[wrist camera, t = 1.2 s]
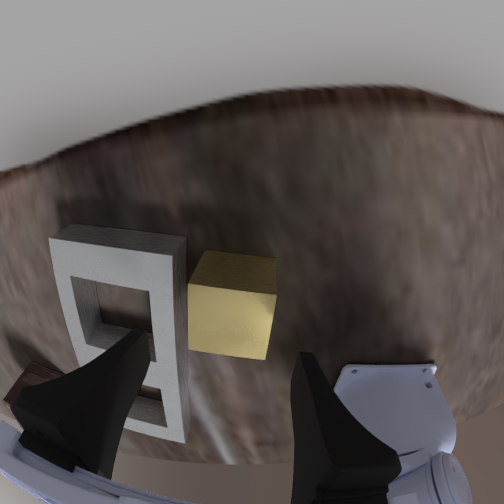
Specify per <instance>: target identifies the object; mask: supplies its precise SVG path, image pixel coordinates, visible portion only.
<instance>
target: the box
mask: <svg viewBox="0 0 504 504" xmlns="http://www.w3.org/2000/svg"><path fill="white" fill-rule="evenodd" d="M61 376H63V374H61V373H58V372H56V371H53V370H50V369H48V368H45V367H43V366H40V365H38V364H36V363H33V362H31V363H30V364H29V365H28V367H27V368H26V369H25V370H24V372H23V373H22V374H21V376H20V377H19V378H18V380H17V381H16V382H15V384H14V385H13V386H12V388H11V389H10V391H9V392H8V393H7V395H6V396H5V398H4V399H3V400H2V401H3V402H4V404H5V405H6V407H7V408H8V409H9V411H10V412H11V409H10V404H11V403H12V401H13V400H14V398H15V397H16V396H17V394H18V393H19V391H20V390H21V389H22V387H28V386H32V385H36V384H40V383H44V382H47V381H50V380H53V379H56V378H58V377H61ZM11 414H12V415H13V413H12V412H11ZM13 416H14V415H13ZM14 418H15V416H14ZM15 419H16V418H15ZM16 421H17V419H16ZM17 422H18V421H17ZM18 423H19V422H18ZM19 425H20V423H19ZM20 426H21V425H20ZM21 427H22V426H21ZM22 429H23V427H22ZM23 430H24V429H23Z"/></svg>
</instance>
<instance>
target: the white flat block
mask: <svg viewBox="0 0 504 504" xmlns="http://www.w3.org/2000/svg"><path fill="white" fill-rule="evenodd" d="M49 245H50V251H51V257H52V263H53V268H54V273H55V278H56V283H57V288H58V292H59V296H60V301H61V305H62V309H63V313H64V316H65V320H66V324H67V327H68V331H69V334H70V337H71V341H72V344H73V347H74V350H75V353H76V356H77V359H78V362H79V365H80V367H82V366H83V365H85V364H87V363H89V362H90V361H92V360H93V359H95V358H96V357H98V356H99V355H101V354H102V353H103V352H105V351H106V350H107V349H109V348H110V347H111V346H113V345H114V344H115V343H117V342H118V341H119V340H120V339H122V338H123V337H124V336H125V335H127V334H128V333H129V332H130V331H132V330H133V329H128V328H124V327H119V326H115V325H111V324H107V323H103V322H102V318H101V313H100V307H99V302H98V296H97V291H96V284H95V281H98V282H103V283H109V284H114V285H119V286H124V287H130V288H135V289H141V290H146V291H149V294H150V306H151V317H152V327H153V334H151V333H147V336H148V343H149V351H150V357H151V362H150V365H149V368H148V371H147V374H146V377H145V379H144V381H143V385H147V386H151V387H155V388H159V389H161V394H162V400H163V402H162V401H158V400H154V399H150V398H146V397H142V396H138V395H137V396H136V398H135V400H134V402H133V405H132V407H131V409H130V411H129V413H128V416H127V418H126V421H125V424H124V427H123V428H126V429H130V430H133V431H136V432H140V433H144V434H147V435H151V436H155V437H159V438H163V439H167V440H172V441H176V442H181V443H185V442H186V438H187V434H188V431H189V427H190V423H191V413H190V398H189V381H188V360H187V328H186V249H187V237H185V236H177V235H168V234H160V233H152V232H143V231H135V230H126V229H118V228H109V227H100V226H91V225H83V224H74V223H73V224H71V225H69V226H68V227H66V228H64V229H62V230H61V231H59V232H57V233H56V234H54V235H53V236H51V237H49Z"/></svg>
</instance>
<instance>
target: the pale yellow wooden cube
mask: <svg viewBox="0 0 504 504" xmlns="http://www.w3.org/2000/svg"><path fill="white" fill-rule="evenodd" d="M276 298H277V271H276V258H268V257H259V256H251V255H243V254H235V253H227V252H219V251H211V250H205V252H204V254H203V256H202V257H201V259H200V261H199V263H198V265H197V267H196V269H195V271H194V273H193V275H192V277H191V279H190V281H189V282H188V339H189V349H190V350H196V351H202V352H209V353H215V354H222V355H229V356H236V357H244V358H252V359H261V360H265V358H266V353H267V348H268V342H269V337H270V332H271V326H272V321H273V315H274V309H275V304H276Z"/></svg>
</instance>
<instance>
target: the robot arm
mask: <svg viewBox="0 0 504 504" xmlns="http://www.w3.org/2000/svg"><path fill="white" fill-rule="evenodd" d="M150 362H151V357H150V351H149V343H148V336H147V330H144V329H139V328H134V329H133V330H132V331H130V332H129V333H128V334H127V335H125V336H124V337H123V338H122V339H120V340H119V341H118V342H117V343H115V344H114V345H113V346H111V347H110V348H109V349H107V350H106V351H105V352H103V353H102V354H101V355H99V356H98V357H96V358H95V359H93V360H92V361H90V362H89V363H87V364H85V365H83V366H82V367H80V368H78V369H76V370H74V371H72V372H70V373H68V374H65V375H63V376H61V377H58V378H56V379H53V380H50V381H47V382H44V383H40V384H36V385H32V386H28V387H22V389H21V390H20V391H19V393H18V394H17V396H16V397H15V398H14V400H13V401H12V403H11V404H10V409H11V412H12V413H13V415H14V416H15V418H16V419H17V421H18V422H19V423H20V425H21V426H22V427H23V429H24V431H23V433H22V434H21V433H20V432H19V431H18V430H17V429H15V428H13V427H12V426H10V425H9V424H7V423H6V422H4V421H1V422H0V473H2V474H3V475H4V476H5V477H6V478H7V479H9V480H10V481H12V482H13V483H15V484H16V485H17V486H19V487H20V488H22V489H23V490H25V491H27V492H28V493H30V494H31V495H33V496H35V497H36V498H38V499H39V500H41V501H43V502H44V503H46V504H199V503H193V502H188V501H183V500H178V499H173V498H169V497H165V496H161V495H157V494H154V493H150V492H146V491H143V490H139V489H136V488H133V487H129V486H127V485H124V484H121V483H117V482H115V481H112V480H111V478H112V472H113V466H114V461H115V457H116V453H117V448H118V445H119V441H120V437H121V434H122V431H123V427H124V424H125V421H126V418H127V416H128V413H129V411H130V409H131V407H132V405H133V402H134V400H135V398H136V396H137V394H138V392H139V390H140V388H141V386H142V384H143V381H144V379H145V377H146V374H147V371H148V368H149V365H150ZM436 369H437V367H436V365H435V364H417V365H353V364H349V365H345V366H344V367H343V368H342V371H341V373H340V376H339V378H338V380H337V382H336V385H335V387H334V389H332V387H331V385H330V384H329V382H328V380H327V379H326V377H325V375H324V374H323V372H322V370H321V368H320V366H319V364H318V362H317V360H316V358H315V356H314V354H313V353H308V352H299V355H298V358H297V362H296V365H295V369H294V372H293V376H292V379H291V399H290V400H291V410H292V420H293V430H294V445H295V447H294V474H293V488H292V498H291V504H473V503H472V496H471V492H470V488H469V485H468V482H467V479H466V476H465V474H464V472H463V469H462V467H461V466H460V464H459V462H458V461H457V459H456V458H455V456H454V455H452V454H451V452H452V450H453V448H454V445H455V441H456V424H455V420H454V417H453V415H452V412H451V410H450V408H449V406H448V404H447V402H446V399H445V397H444V395H443V393H442V391H441V389H440V387H439V385H438V383H437V381H436V379H435V377H434V375H433V374H434V373H435V371H436ZM353 370H354V371H353Z"/></svg>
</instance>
